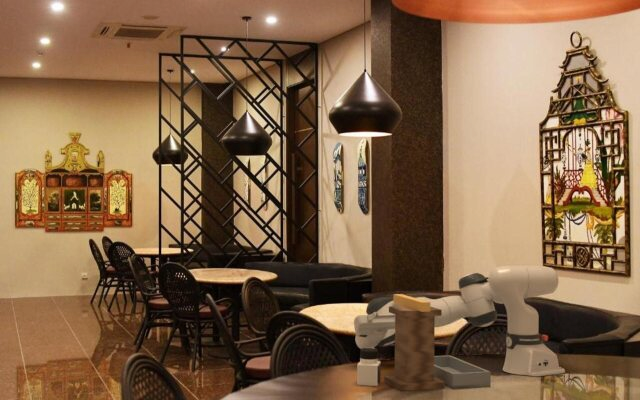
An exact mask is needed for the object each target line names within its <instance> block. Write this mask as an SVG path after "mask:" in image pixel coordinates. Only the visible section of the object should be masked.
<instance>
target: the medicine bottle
mask: <svg viewBox="0 0 640 400" xmlns="http://www.w3.org/2000/svg"><path fill="white" fill-rule="evenodd" d="M359 353H360V354H359V360H360V361H359V362H358V363H357V366H356V385H357V386H365V387H367V386H368V387H378V386H379V385H380V384H381V381H382V380H381V378H382V377H381V374H382V373H381V371H382V370H381V366H382V365H381V360H379V350H378V349H377V348H375V347H373V348H363V349H360V351H359Z"/></svg>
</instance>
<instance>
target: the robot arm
mask: <svg viewBox="0 0 640 400" xmlns="http://www.w3.org/2000/svg"><path fill="white" fill-rule="evenodd" d="M558 287H559V276H558V273H557V272H556V270H555V269H554V267H549V266H544V265H525V264H524V265H523V264H522V265H519V264H518V265H515V264H514V265H512V264H511V265H510V264H509V265H500V266H497V267H496V266H495V267H493V268H492V269H491V271H490V272H489V275H488V277H487V276H486V277H485V276H484V275H483V274H482V273H480V272H469V273H466V274H464V275H463V276H462V277H461V278H459V280H458V288H459V290H460V294H461V295H449V296H444V297H440V298H436V299H435V298H434V299H432V298H428V297H426V296H424V295H422V294H415V295H409V296H410V297H413V298H417V299H420V300H424V301H428V302H430V307H434V308H437V309H441V310H442V312H441V316H435V328H441V327H442V328H443V327H444V326H448V325H450V324H453V323H455V322H458V321H460V320H461V319H464V318H468V319H467V320H466V322H467V323H470V324H471V325H473V326H474V327H475V326H476V327H479V328H480V327H488V326H490V325H492V324H493V323H494V322H495V321H496V320H497V319H498V313H497V310H496V309H495V304H494V303H496V304H501V305H504V307H505V310H506V317H507V318H506V322H507V331H506V334H505V337H506V338H505V342H506V343H505V345H506V353H505V358H504V364H503V366H502V367H503V368H502V371H503V372H506V373H509V374H513V375H519V376H520V375H521V376H529V377H544V376H550V375H558V374H559V375H560V374H565V373H566V370H565V368H563V367H561V366H560V364H559V359H558V356H557V354H556V353H555V352H553V350H551V349H550V348H549V347H548V346H546V345H545V344H544V343H543V341H546V342H547V341H548V339H549V336H548V334H547V335H546V334H541V333H539V317H540V316H539V312H538V311H537V309H536V308H534V307H533V306H531V305H530V304H527V303H525V299H529V298H530V299H531V298H534V297H539V296H545V295H550V294H553V293H555V291H556V290H557V289H558ZM393 298H394V296H392V297H386V296H385V297H377V298H374V299H371V300H370V301H368V303H367V306H366V310H365V313H366V314H359V315H357V316H356V317H355V318H354V319H353V327H354V332H355V339H354V340H355V344H356V346H357V348H359V349H360V350H361V349H363V348H375V347H376V346H378V347H382V348H386V347H389V346H392V345H393V344H394V345H395V314H392V313H389V306H402V305H399V304H396V303H393Z"/></svg>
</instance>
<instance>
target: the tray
mask: <svg viewBox="0 0 640 400" xmlns="http://www.w3.org/2000/svg"><path fill="white" fill-rule="evenodd" d="M491 374H492V372H491V371H489V370H487V369H485V368H482V367H480V366H477V365H474V364H473V363H469V362H468V361H465V360H463V359H460V358H457V357H455V356H453V355H434V377H435V378H437V379H439V380H441V381H443V382H445V387H448V388H449V389H452V390H461V389H474V388H475V389H476V388H490V387H491V385H492V384H491V382H492V381H491V378H492V376H491Z"/></svg>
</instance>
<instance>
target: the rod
mask: <svg viewBox="0 0 640 400" xmlns="http://www.w3.org/2000/svg"><path fill="white" fill-rule="evenodd" d="M410 296H411V295H405V294H403V293H400V294H399V293H396V294H395V293H394V294H393V297H394V298H393V303H396V304H399V305H402V306H405V307H409V308H412V309H415V310H418V311H421V312H429V311H430V302H428V301H424V300H420V299H417V298H413V297H410Z"/></svg>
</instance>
